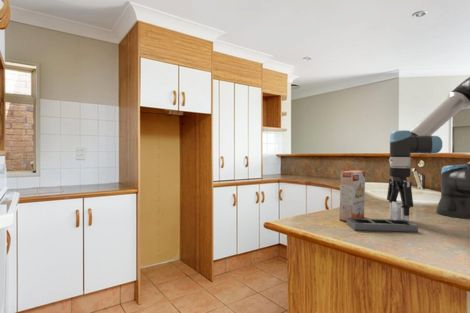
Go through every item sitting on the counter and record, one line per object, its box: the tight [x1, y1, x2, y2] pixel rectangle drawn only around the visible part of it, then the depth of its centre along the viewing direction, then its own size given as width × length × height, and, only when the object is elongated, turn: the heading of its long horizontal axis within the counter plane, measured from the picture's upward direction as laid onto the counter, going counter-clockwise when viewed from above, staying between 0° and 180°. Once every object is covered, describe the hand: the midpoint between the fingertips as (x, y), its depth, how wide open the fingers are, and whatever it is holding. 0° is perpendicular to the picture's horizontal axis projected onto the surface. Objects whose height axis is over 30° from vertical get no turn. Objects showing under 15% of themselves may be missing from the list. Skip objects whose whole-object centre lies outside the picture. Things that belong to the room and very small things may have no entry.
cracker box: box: [338, 170, 366, 222], centre depth 118 cm, size 14×6×21 cm, turn 136°
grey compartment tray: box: [346, 217, 419, 233], centre depth 103 cm, size 22×9×2 cm, turn 85°
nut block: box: [391, 200, 403, 219], centre depth 114 cm, size 4×4×8 cm
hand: (398, 220), depth 114 cm, fingers open, 9 cm apart
